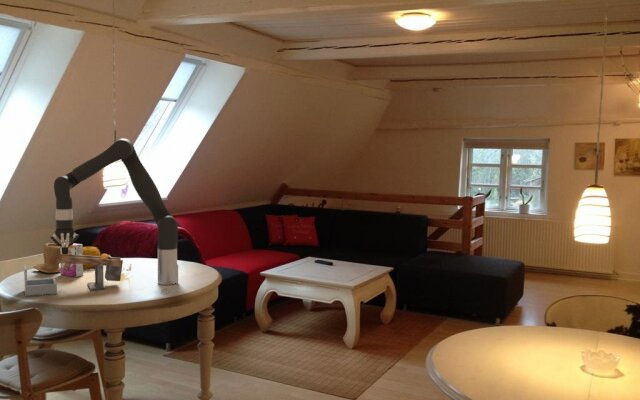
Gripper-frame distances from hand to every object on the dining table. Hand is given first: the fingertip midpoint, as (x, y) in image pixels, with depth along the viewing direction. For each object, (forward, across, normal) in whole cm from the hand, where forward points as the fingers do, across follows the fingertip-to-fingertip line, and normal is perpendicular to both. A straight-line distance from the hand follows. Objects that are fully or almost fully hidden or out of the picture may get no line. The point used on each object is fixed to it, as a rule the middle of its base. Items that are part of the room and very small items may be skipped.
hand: (64, 254), depth 276 cm
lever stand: (+15, -13, +8) cm, 21 cm away
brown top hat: (+15, +4, -37) cm, 40 cm away
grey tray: (+15, +11, +8) cm, 20 cm away
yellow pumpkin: (+15, -15, -41) cm, 46 cm away
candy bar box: (+15, -5, -23) cm, 28 cm away
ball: (+1, -16, +8) cm, 18 cm away
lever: (+10, -9, +5) cm, 15 cm away
